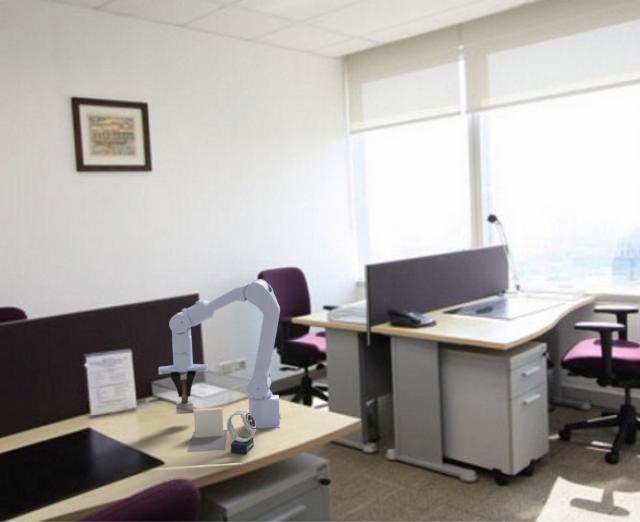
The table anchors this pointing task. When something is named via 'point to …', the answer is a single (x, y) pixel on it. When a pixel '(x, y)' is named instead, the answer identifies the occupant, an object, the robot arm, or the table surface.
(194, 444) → the mat
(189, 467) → the table surface
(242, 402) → the table surface
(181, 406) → the trowel
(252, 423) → the watch
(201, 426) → the tile
